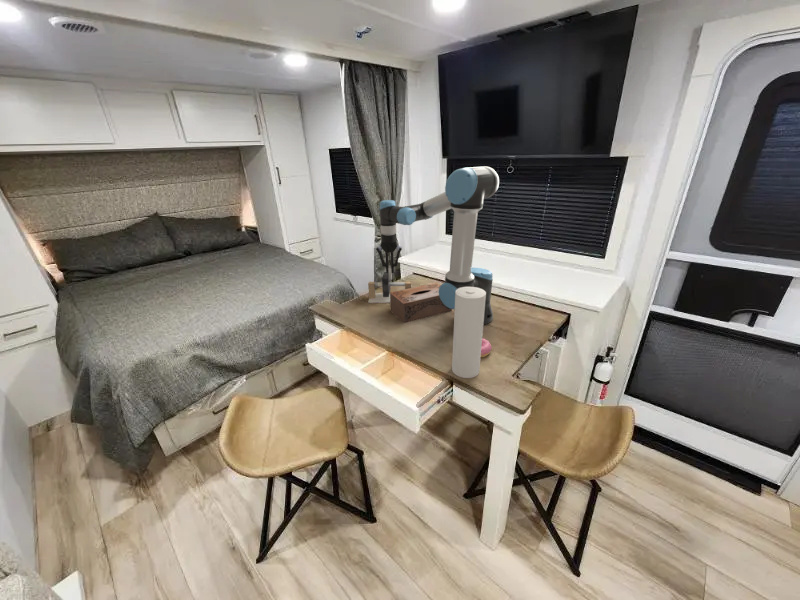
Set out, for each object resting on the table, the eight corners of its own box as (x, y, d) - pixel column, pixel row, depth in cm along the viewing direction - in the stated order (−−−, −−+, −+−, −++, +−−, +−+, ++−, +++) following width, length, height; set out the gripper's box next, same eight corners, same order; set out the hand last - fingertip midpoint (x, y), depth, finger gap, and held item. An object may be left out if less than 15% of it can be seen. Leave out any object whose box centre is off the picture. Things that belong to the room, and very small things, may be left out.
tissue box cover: (404, 323, 148) (403, 303, 144) (390, 311, 160) (389, 292, 156) (451, 311, 158) (452, 292, 154) (435, 300, 170) (436, 282, 166)
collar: (388, 297, 168) (388, 278, 164) (383, 297, 168) (382, 278, 164) (390, 289, 177) (389, 272, 173) (384, 289, 177) (383, 272, 173)
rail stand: (411, 302, 168) (410, 286, 164) (368, 302, 169) (367, 286, 165) (411, 294, 178) (411, 278, 174) (370, 294, 179) (369, 278, 175)
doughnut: (496, 350, 126) (497, 341, 124) (481, 363, 119) (482, 353, 117) (472, 340, 133) (472, 331, 132) (456, 351, 126) (456, 342, 124)
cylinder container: (462, 381, 110) (468, 299, 97) (446, 366, 117) (449, 288, 105) (484, 372, 113) (492, 292, 101) (467, 359, 121) (472, 283, 109)
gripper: (402, 231, 162) (403, 276, 172) (376, 231, 163) (378, 276, 173) (401, 235, 156) (402, 281, 165) (374, 235, 156) (377, 281, 166)
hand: (390, 279), depth 169 cm, fingers closed
